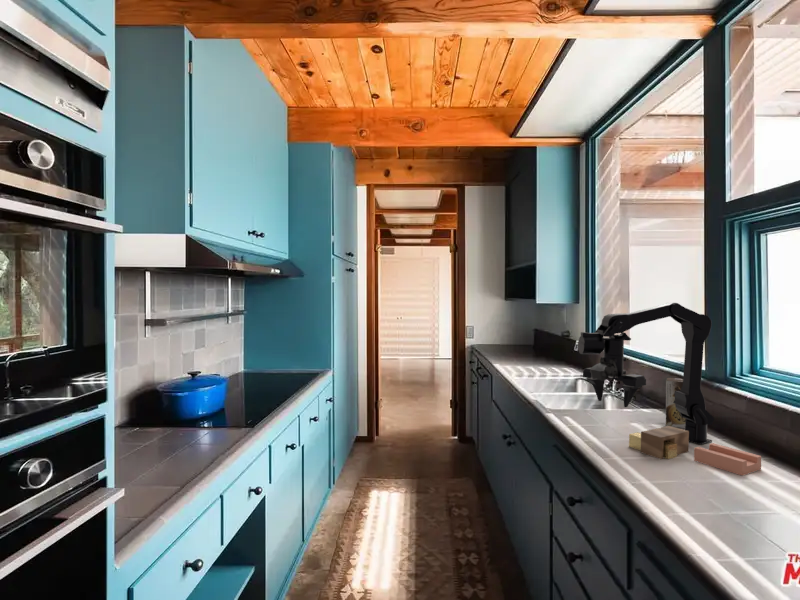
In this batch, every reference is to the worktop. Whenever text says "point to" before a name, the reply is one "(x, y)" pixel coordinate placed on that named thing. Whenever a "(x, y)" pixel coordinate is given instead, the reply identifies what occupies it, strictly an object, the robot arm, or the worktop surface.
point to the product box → (671, 412)
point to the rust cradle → (728, 459)
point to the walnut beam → (655, 440)
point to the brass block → (668, 448)
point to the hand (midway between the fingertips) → (612, 403)
